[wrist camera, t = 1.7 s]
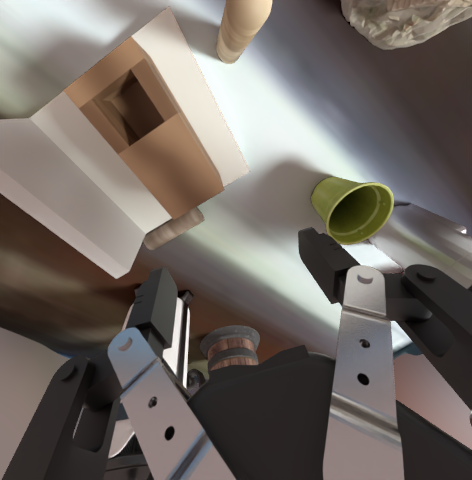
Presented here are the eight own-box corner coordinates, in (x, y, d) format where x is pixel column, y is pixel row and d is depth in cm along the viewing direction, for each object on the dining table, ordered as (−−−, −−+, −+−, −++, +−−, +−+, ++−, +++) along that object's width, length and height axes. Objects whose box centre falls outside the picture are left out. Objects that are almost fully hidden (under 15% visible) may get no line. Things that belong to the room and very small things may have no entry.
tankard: (241, 316, 50) (261, 420, 33) (269, 343, 59) (296, 435, 42) (167, 354, 54) (152, 462, 37) (204, 373, 63) (205, 468, 46)
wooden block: (198, 206, 33) (191, 204, 30) (206, 221, 33) (200, 220, 30) (150, 235, 35) (139, 235, 32) (157, 249, 34) (147, 250, 32)
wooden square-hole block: (150, 56, 21) (130, 36, 15) (219, 173, 28) (224, 189, 23) (99, 95, 22) (62, 90, 16) (179, 198, 29) (174, 219, 24)
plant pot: (312, 227, 38) (338, 255, 31) (292, 188, 33) (317, 210, 26) (358, 199, 36) (398, 222, 29) (345, 153, 31) (388, 167, 24)
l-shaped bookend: (170, 12, 20) (148, -60, 12) (248, 168, 30) (267, 192, 21) (26, 127, 24) (-75, 137, 15) (138, 234, 33) (116, 278, 25)
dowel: (233, 23, 22) (261, -51, 12) (245, 54, 23) (278, 13, 13) (211, 39, 22) (220, -18, 12) (224, 69, 23) (241, 39, 14)
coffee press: (103, 298, 40) (-59, 611, 15) (175, 269, 38) (129, 559, 14) (153, 339, 49) (105, 571, 25) (212, 317, 48) (225, 539, 23)
